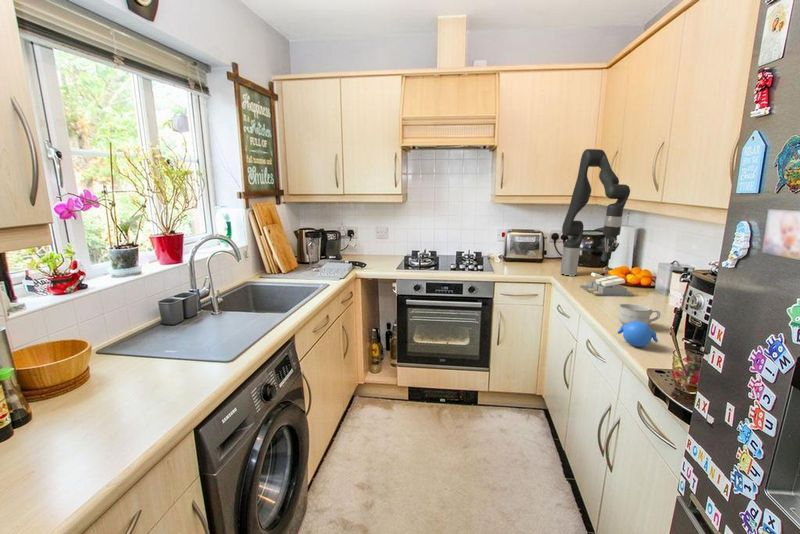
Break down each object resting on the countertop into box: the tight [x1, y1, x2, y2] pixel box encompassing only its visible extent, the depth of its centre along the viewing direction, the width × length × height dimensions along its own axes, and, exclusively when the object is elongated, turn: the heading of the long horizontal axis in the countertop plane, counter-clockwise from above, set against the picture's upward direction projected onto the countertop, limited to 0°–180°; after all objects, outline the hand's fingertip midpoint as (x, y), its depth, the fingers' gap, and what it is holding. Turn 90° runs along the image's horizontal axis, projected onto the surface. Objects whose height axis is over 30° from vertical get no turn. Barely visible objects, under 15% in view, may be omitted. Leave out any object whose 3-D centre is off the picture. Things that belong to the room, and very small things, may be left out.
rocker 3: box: [601, 277, 626, 287], centre depth 195 cm, size 4×10×2 cm, turn 91°
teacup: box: [617, 303, 662, 326], centre depth 150 cm, size 14×11×8 cm
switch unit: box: [579, 279, 635, 297], centre depth 201 cm, size 17×19×5 cm
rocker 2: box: [595, 275, 620, 284], centre depth 200 cm, size 4×10×2 cm, turn 91°
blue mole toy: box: [617, 321, 659, 348], centre depth 133 cm, size 12×12×8 cm
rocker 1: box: [590, 271, 606, 279], centre depth 205 cm, size 4×10×2 cm, turn 91°
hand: (607, 259), depth 197 cm, fingers closed
